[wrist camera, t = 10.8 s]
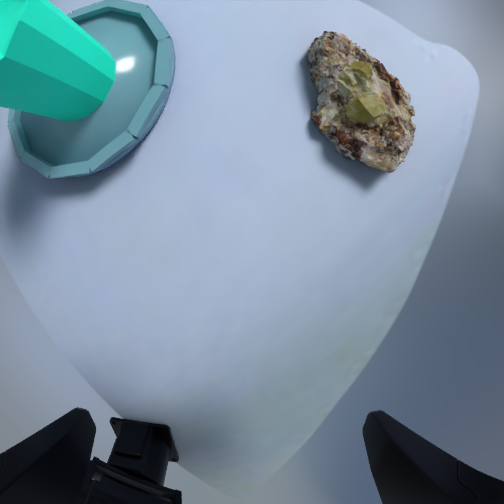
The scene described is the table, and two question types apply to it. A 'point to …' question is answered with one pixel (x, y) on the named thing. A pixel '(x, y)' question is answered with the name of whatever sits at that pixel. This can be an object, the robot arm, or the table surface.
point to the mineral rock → (360, 103)
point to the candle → (50, 62)
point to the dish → (116, 103)
